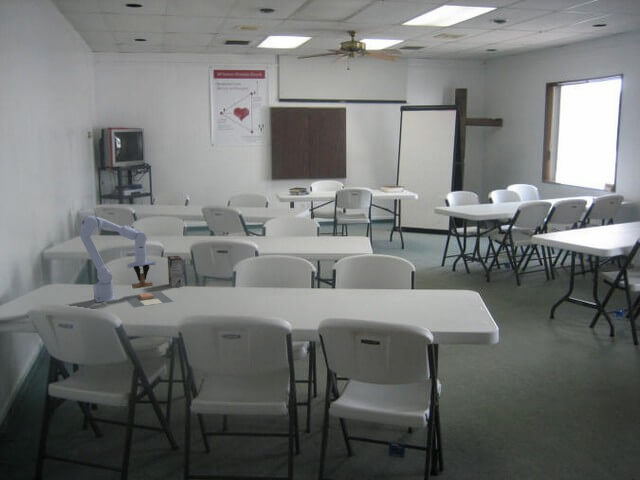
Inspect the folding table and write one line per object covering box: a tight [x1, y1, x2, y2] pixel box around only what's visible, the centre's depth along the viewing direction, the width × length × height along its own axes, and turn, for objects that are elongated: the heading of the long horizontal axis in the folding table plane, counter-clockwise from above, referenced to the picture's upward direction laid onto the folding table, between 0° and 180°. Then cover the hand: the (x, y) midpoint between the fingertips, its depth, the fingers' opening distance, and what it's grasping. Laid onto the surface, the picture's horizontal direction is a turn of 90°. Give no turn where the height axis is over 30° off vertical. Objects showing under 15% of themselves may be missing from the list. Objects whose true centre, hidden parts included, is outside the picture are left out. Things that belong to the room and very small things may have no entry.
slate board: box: [122, 291, 174, 308], centre depth 316 cm, size 20×22×1 cm
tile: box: [138, 292, 154, 300], centre depth 318 cm, size 6×6×2 cm
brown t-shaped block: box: [131, 272, 153, 290], centre depth 323 cm, size 10×2×7 cm, turn 121°
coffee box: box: [167, 255, 184, 288], centre depth 344 cm, size 9×6×16 cm
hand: (142, 279), depth 323 cm, fingers closed on brown t-shaped block, 2 cm apart
